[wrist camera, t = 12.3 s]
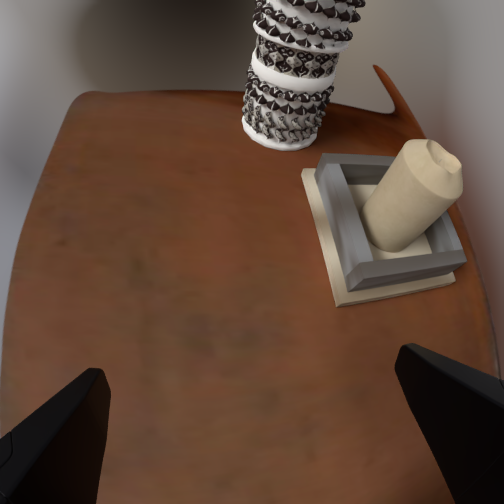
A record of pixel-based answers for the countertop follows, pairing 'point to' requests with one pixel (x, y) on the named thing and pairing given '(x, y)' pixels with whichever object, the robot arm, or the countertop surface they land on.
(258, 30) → the decorative candle
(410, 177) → the candle
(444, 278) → the square tray
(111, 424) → the countertop surface
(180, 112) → the countertop surface
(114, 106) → the countertop surface
